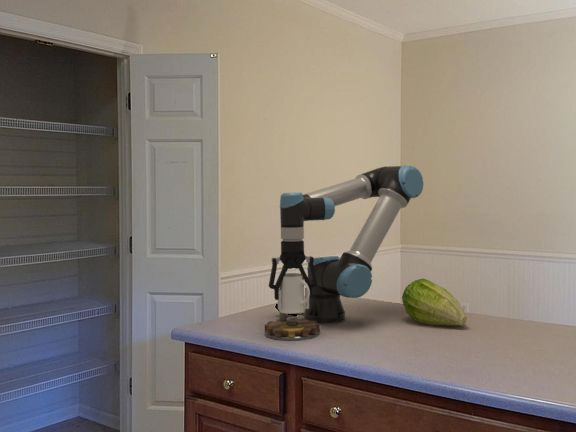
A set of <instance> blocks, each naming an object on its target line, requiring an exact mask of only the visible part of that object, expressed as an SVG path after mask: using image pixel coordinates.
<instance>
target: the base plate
mask: <svg viewBox="0 0 576 432" xmlns="http://www.w3.org/2000/svg"><path fill="white" fill-rule="evenodd" d="M320 335H321V329H320V330H318V333H316V334H312V333H311V334H309V336H304V337H303V336H295V337H289V336H281V337H278V336H275V335H274V334H270V335H269V334H267V333H266V331H265V330H264V336H265V337H266V338H268V339H271V340H275V341H276V340H277V341H284V342H285V341H287V342H288V341H290V342H293V341H295V342H296V341H297V342H298V341H305V340H311V339H314V338H316V337H318V336H320Z"/></svg>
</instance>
